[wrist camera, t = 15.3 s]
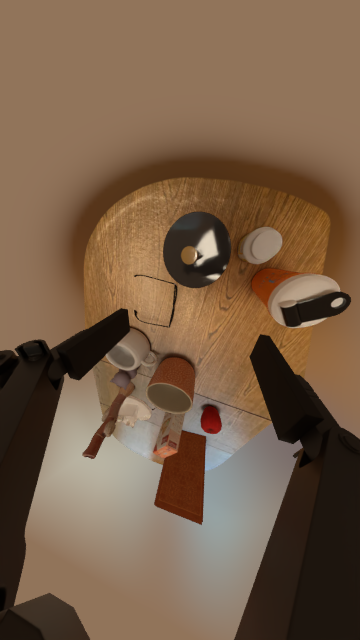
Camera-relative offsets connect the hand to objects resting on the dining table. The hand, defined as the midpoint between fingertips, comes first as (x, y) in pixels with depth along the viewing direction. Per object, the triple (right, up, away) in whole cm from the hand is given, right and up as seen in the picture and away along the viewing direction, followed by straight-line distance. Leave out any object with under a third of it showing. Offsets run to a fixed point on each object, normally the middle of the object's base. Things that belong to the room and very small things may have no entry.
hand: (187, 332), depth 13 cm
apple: (+15, -44, +54) cm, 72 cm away
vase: (-29, -36, +61) cm, 77 cm away
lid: (+3, +15, +15) cm, 21 cm away
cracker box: (-2, -44, +59) cm, 74 cm away
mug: (-19, -9, +44) cm, 49 cm away
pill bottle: (+17, +20, +20) cm, 33 cm away
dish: (-31, -56, +72) cm, 96 cm away
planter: (-1, -20, +45) cm, 49 cm away
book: (+5, -75, +73) cm, 105 cm away
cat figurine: (-24, -20, +52) cm, 60 cm away
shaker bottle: (+23, +12, +23) cm, 34 cm away
